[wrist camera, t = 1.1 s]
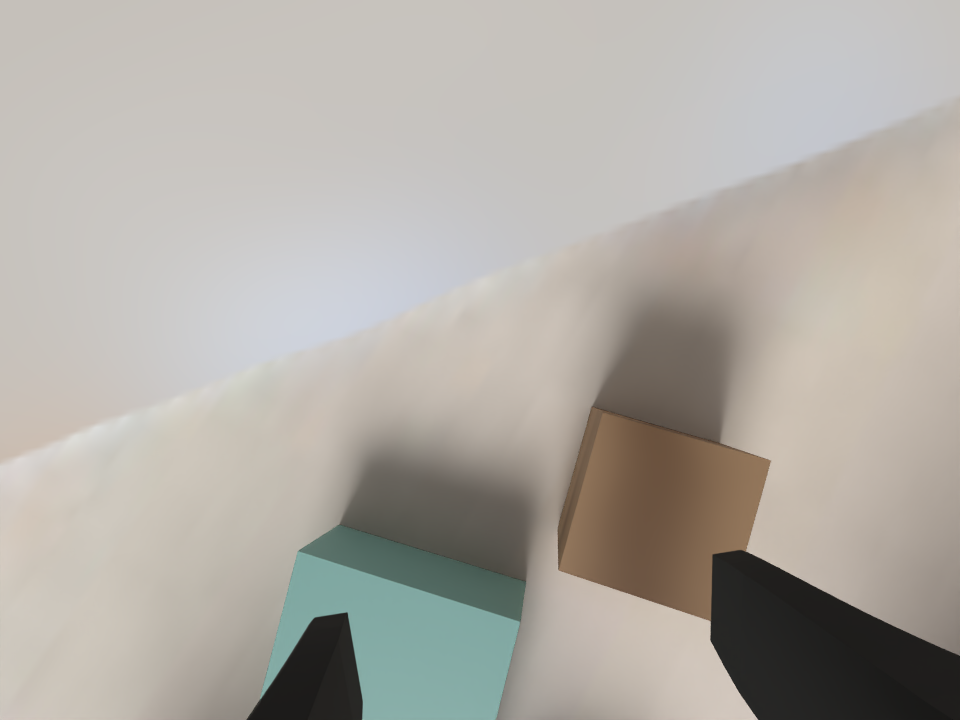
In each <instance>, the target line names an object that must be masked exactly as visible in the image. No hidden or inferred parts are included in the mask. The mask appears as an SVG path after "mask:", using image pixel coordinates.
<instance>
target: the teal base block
mask: <svg viewBox="0 0 960 720" xmlns="http://www.w3.org/2000/svg"><path fill="white" fill-rule="evenodd" d="M525 585H526V582H525V581H522V580H518V579H515V578H512V577H509V576H505V575H502V574H499V573H496V572H492V571H489V570H486V569H483V568H479V567H476V566H473V565H469V564H466V563H463V562H460V561H456V560H453V559H450V558H447V557H443V556H440V555H437V554H433V553H430V552H427V551H424V550H420V549H417V548H414V547H411V546H407V545H404V544H401V543H398V542H394V541H391V540H388V539H384V538H381V537H378V536H375V535H371V534H368V533H365V532H362V531H358V530H355V529H352V528H348V527H345V526H342V525H338V526H336V527H335V528H333V529H332V530H330V531H329V532H327V533H326V534H324V535H322V536H321V537H319V538H318V539H316V540H315V541H313V542H311V543H310V544H308V545H307V546H305V547H304V548H302V549H301V550H299V551H298V553H297V557H296V561H295V564H294V568H293V572H292V576H291V580H290V584H289V588H288V592H287V596H286V600H285V603H284V607H283V611H282V615H281V619H280V623H279V627H278V631H277V635H276V639H275V643H274V646H273V650H272V654H271V658H270V662H269V666H268V670H267V674H266V678H265V682H264V685H263V689H262V693H261V697H260V699H261V698H262V696H263V695H264V693H265V692H266V691H267V689H268V688H269V686H270V685H271V683H272V682H273V680H274V679H275V677H276V676H277V674H278V673H279V671H280V669H281V668H282V666H283V665H284V663H285V662H286V660H287V659H288V657H289V655H290V654H291V652H292V651H293V649H294V647H295V646H296V644H297V643H298V641H299V639H300V638H301V636H302V635H303V633H304V631H305V630H306V628H307V626H308V625H309V623H310V622H311V621H312V620H313V619H314V617H320V616H326V615H333V614H339V613H345V612H348V618H349V623H350V629H351V635H352V641H353V647H354V652H355V658H356V664H357V670H358V675H359V681H360V687H361V693H362V699H363V714H362V720H496V717H497V713H498V709H499V705H500V701H501V697H502V693H503V689H504V685H505V681H506V677H507V673H508V669H509V665H510V661H511V657H512V653H513V649H514V645H515V641H516V637H517V633H518V629H519V625H520V620H521V613H522V606H523V599H524V592H525Z"/></svg>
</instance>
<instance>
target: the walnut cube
mask: <svg viewBox="0 0 960 720" xmlns="http://www.w3.org/2000/svg"><path fill="white" fill-rule="evenodd" d="M770 462H771V461H770V460H767V459H764V458H761V457H759V456H756V455H753V454H750V453H747V452H744V451H741V450H738V449H735V448H732V447H729V446H726V445H723V444H720V443H717V442H713V441H710V440H706V439H703V438H699V437H696V436H692V435H689V434H685V433H682V432H678V431H675V430H671V429H668V428H664V427H661V426H657V425H654V424H650V423H647V422H643V421H640V420H636V419H633V418H629V417H626V416H622V415H619V414H615V413H612V412H608V411H605V410H601V409H598V408H594V407H592V408H591V412H590V415H589V419H588V422H587V426H586V429H585V433H584V436H583V440H582V444H581V447H580V451H579V454H578V458H577V461H576V465H575V469H574V472H573V476H572V479H571V483H570V486H569V490H568V493H567V497H566V501H565V504H564V508H563V511H562V515H561V518H560V522H559V525H558V570H559V571H562V572H565V573H568V574H571V575H574V576H577V577H580V578H583V579H586V580H589V581H592V582H595V583H598V584H601V585H604V586H607V587H610V588H613V589H616V590H619V591H622V592H625V593H628V594H631V595H634V596H637V597H640V598H643V599H646V600H649V601H652V602H655V603H658V604H661V605H664V606H667V607H670V608H673V609H676V610H679V611H682V612H685V613H688V614H691V615H694V616H697V617H700V618H703V619H706V620H709V621H711V596H712V554H717V553H723V552H730V551H736V550H743V551H745V552H746V549H747V545H748V542H749V538H750V534H751V531H752V527H753V524H754V520H755V516H756V513H757V509H758V506H759V502H760V498H761V495H762V491H763V488H764V484H765V480H766V477H767V473H768V469H769V466H770Z"/></svg>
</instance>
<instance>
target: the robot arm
mask: <svg viewBox="0 0 960 720" xmlns="http://www.w3.org/2000/svg"><path fill="white" fill-rule="evenodd" d="M710 640H711V642H712V644H713V646H714V648H715V650H716V652H717V654H718V655H719V657H720V659H721V661H722V663H723V665H724V667H725V669H726V670H727V672H728V674H729V676H730V677H731V679H732V681H733V683H734V684H735V686H736V688H737V690H738V691H739V693H740V694H741V696H742V697H743V699H744V700H745V702H746V703H747V705H748V706H749V707H750V709H751V710H752V712H753V713H754V714H755V716H756V717H757V719H758V720H960V656H959V655H956V654H954V653H952V652H949V651H947V650H945V649H942V648H940V647H938V646H935V645H933V644H931V643H929V642H927V641H924V640H922V639H920V638H918V637H916V636H914V635H911V634H909V633H907V632H905V631H903V630H901V629H898V628H896V627H894V626H892V625H890V624H888V623H886V622H884V621H882V620H880V619H877V618H875V617H873V616H871V615H869V614H867V613H865V612H863V611H861V610H859V609H857V608H855V607H853V606H851V605H849V604H847V603H845V602H843V601H841V600H839V599H837V598H836V597H834V596H832V595H830V594H828V593H826V592H824V591H822V590H820V589H818V588H816V587H814V586H812V585H810V584H809V583H807V582H805V581H803V580H801V579H799V578H797V577H795V576H793V575H791V574H789V573H788V572H786V571H784V570H782V569H780V568H778V567H776V566H774V565H772V564H770V563H768V562H766V561H764V560H762V559H760V558H758V557H756V556H754V555H752V554H750V553H748V552H745V551H743V550H736V551H730V552H723V553H717V554H712V596H711V639H710ZM362 714H363V699H362V693H361V687H360V681H359V675H358V670H357V664H356V658H355V652H354V647H353V641H352V635H351V629H350V623H349V618H348V612H345V613H339V614H333V615H326V616H320V617H314V619H313V620H312V621H311V622H310V623H309V625H308V626H307V628H306V630H305V631H304V633H303V635H302V636H301V638H300V639H299V641H298V643H297V644H296V646H295V647H294V649H293V651H292V652H291V654H290V655H289V657H288V659H287V660H286V662H285V663H284V665H283V666H282V668H281V669H280V671H279V673H278V674H277V676H276V677H275V679H274V680H273V682H272V683H271V685H270V686H269V688H268V689H267V691H266V692H265V693H264V695H263V696H262V698H261V699H260V701H259V702H258V704H257V705H256V707H255V708H254V710H253V711H252V713H251V714H250V715H249V717H248V718H247V720H362Z"/></svg>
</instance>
